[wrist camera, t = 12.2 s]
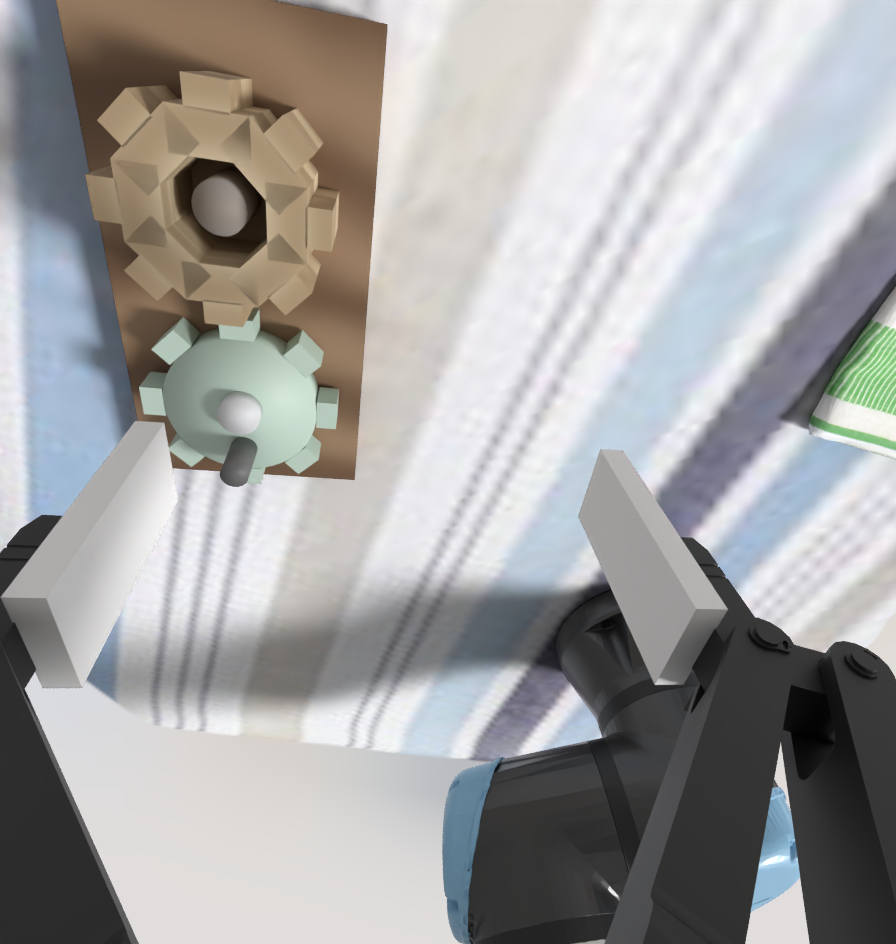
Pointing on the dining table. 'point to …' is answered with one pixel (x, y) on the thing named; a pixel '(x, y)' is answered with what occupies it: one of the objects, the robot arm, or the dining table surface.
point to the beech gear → (171, 187)
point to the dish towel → (864, 390)
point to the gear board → (278, 84)
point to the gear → (241, 398)
